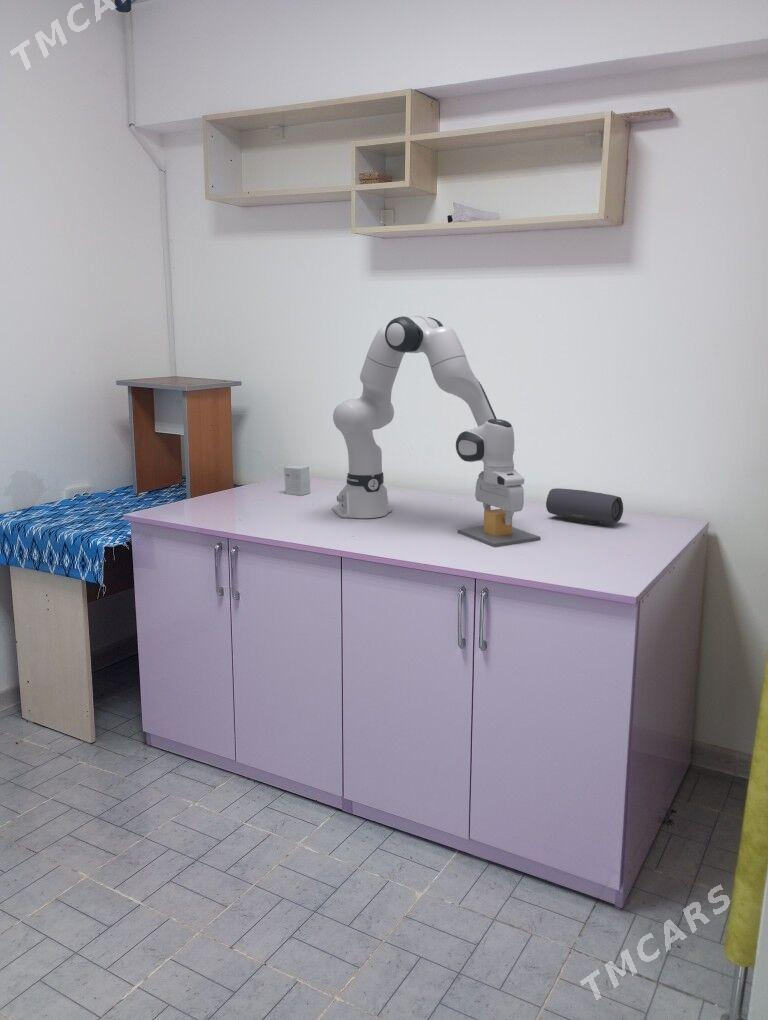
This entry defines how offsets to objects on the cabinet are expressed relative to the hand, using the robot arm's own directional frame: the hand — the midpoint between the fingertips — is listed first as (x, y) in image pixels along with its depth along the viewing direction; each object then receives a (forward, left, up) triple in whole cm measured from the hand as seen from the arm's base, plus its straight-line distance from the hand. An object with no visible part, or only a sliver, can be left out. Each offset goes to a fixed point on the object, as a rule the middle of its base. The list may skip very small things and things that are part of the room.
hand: (498, 521), depth 246 cm
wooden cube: (0, 0, -4) cm, 4 cm away
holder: (0, 0, -5) cm, 5 cm away
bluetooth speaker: (-2, +34, -5) cm, 34 cm away
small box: (-93, -28, -5) cm, 97 cm away
